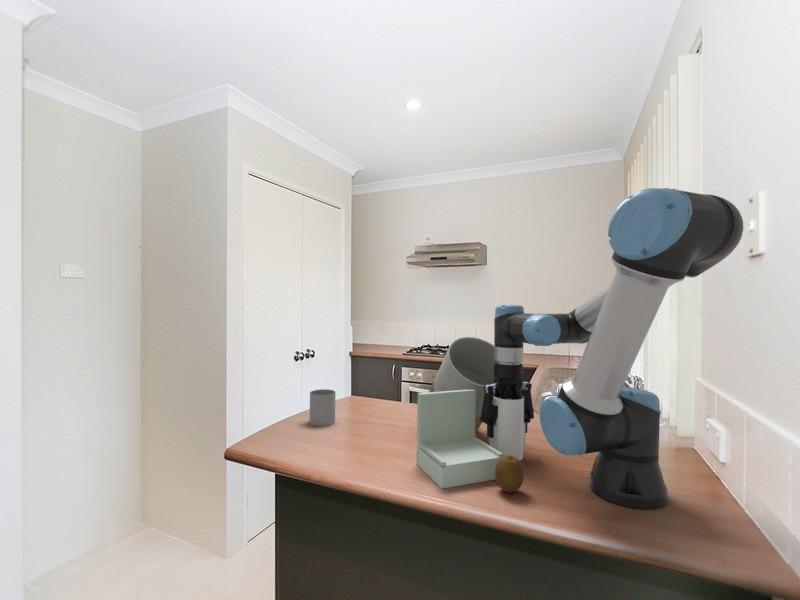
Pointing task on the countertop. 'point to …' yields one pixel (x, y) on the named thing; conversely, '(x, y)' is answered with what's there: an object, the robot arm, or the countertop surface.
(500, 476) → the fruit
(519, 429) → the cup
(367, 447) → the countertop surface
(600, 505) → the countertop surface
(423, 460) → the mint green bookend
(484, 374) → the planter
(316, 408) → the cup
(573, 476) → the countertop surface
